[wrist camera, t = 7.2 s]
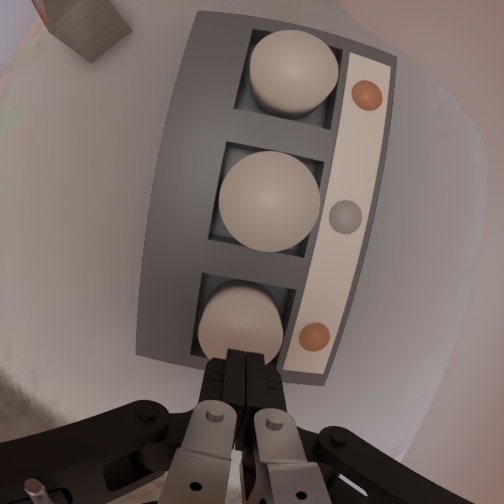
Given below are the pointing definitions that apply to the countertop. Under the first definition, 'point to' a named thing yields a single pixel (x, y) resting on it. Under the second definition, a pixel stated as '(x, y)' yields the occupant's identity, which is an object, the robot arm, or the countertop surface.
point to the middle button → (269, 201)
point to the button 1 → (240, 321)
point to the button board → (219, 164)
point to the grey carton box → (83, 24)
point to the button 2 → (291, 73)
